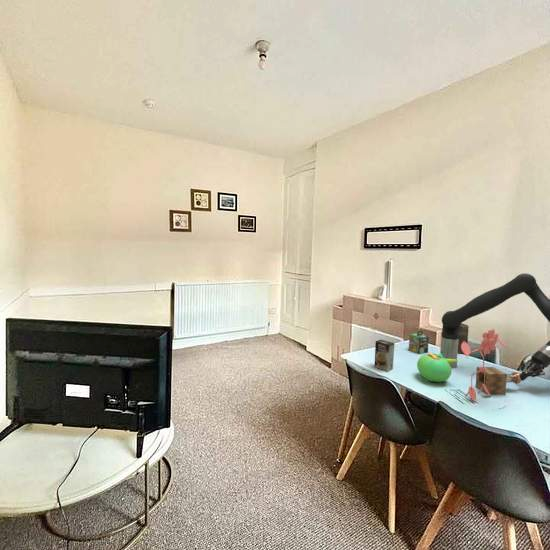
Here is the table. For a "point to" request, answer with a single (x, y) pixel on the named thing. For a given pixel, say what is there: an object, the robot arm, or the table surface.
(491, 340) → the pink flower sprig
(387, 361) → the coffee box
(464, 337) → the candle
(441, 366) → the green rounded lump
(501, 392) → the bushing block
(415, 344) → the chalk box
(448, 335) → the robot arm
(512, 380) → the plunger peg
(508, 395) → the table surface
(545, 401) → the table surface
